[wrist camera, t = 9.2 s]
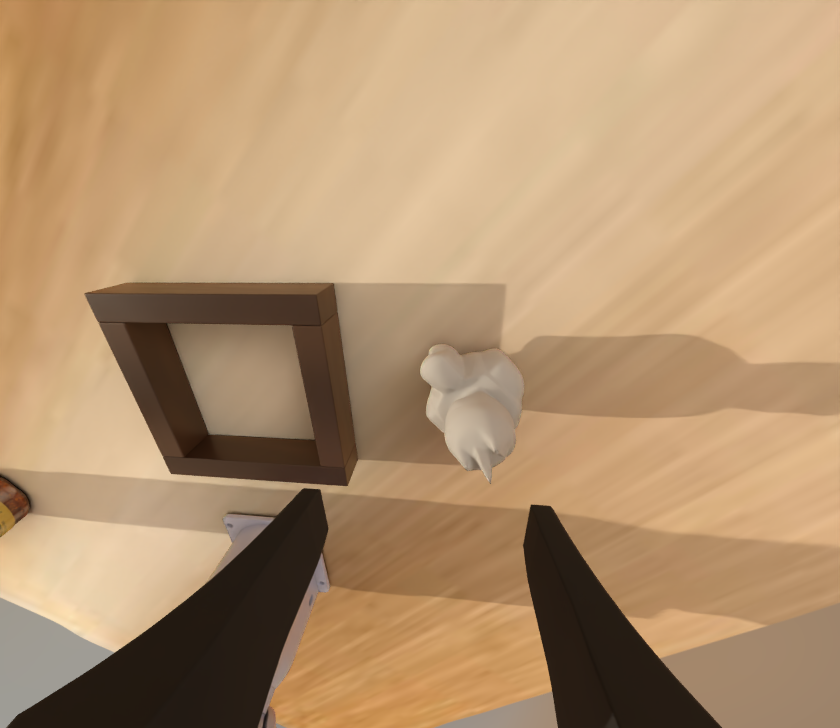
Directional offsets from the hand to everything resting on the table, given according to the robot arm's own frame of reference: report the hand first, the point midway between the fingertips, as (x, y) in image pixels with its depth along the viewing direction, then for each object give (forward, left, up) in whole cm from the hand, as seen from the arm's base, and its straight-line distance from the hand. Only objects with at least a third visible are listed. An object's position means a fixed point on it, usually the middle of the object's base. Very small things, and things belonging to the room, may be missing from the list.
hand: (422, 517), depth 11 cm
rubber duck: (+1, -2, -10) cm, 10 cm away
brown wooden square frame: (0, +12, -10) cm, 16 cm away
